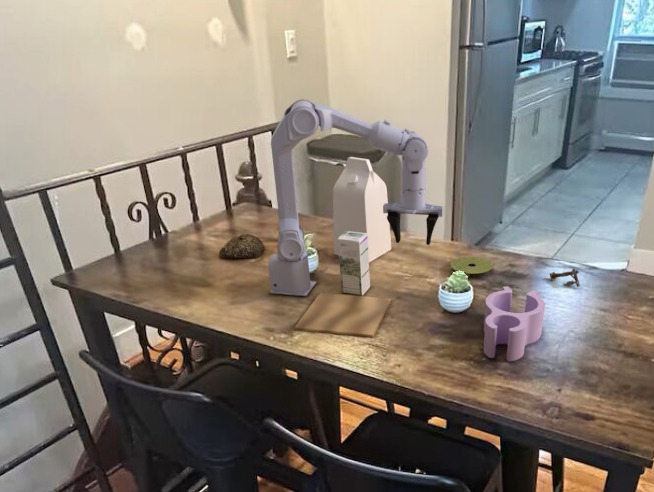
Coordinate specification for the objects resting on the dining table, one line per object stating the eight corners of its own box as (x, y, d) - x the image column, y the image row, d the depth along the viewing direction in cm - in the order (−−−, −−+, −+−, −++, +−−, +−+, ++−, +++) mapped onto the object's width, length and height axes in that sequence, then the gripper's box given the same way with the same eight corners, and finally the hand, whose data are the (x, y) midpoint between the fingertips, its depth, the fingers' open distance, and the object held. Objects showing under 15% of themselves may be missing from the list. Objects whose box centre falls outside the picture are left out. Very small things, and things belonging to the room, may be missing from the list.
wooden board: (294, 329, 133) (294, 327, 133) (320, 294, 148) (320, 292, 148) (372, 337, 130) (372, 334, 129) (391, 300, 145) (391, 298, 144)
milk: (391, 249, 173) (389, 156, 159) (368, 262, 164) (364, 166, 151) (357, 241, 178) (352, 151, 164) (333, 254, 170) (326, 160, 156)
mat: (481, 283, 152) (482, 276, 151) (442, 274, 157) (442, 267, 156) (499, 268, 160) (500, 261, 159) (461, 259, 165) (462, 253, 164)
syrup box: (370, 287, 151) (368, 231, 144) (362, 296, 147) (359, 240, 139) (350, 284, 153) (346, 229, 145) (340, 293, 148) (336, 237, 140)
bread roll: (260, 260, 167) (257, 243, 164) (216, 260, 167) (213, 243, 165) (269, 243, 178) (267, 227, 175) (228, 243, 178) (225, 227, 176)
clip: (530, 365, 120) (534, 334, 116) (469, 354, 123) (471, 324, 120) (546, 320, 135) (549, 292, 132) (491, 311, 139) (494, 284, 135)
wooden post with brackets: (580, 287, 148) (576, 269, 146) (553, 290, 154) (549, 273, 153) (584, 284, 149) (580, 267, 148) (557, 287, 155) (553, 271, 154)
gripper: (379, 191, 139) (381, 246, 147) (441, 194, 137) (439, 250, 144) (386, 182, 145) (387, 236, 152) (445, 185, 143) (444, 239, 150)
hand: (413, 242), depth 149 cm, fingers open, 7 cm apart
